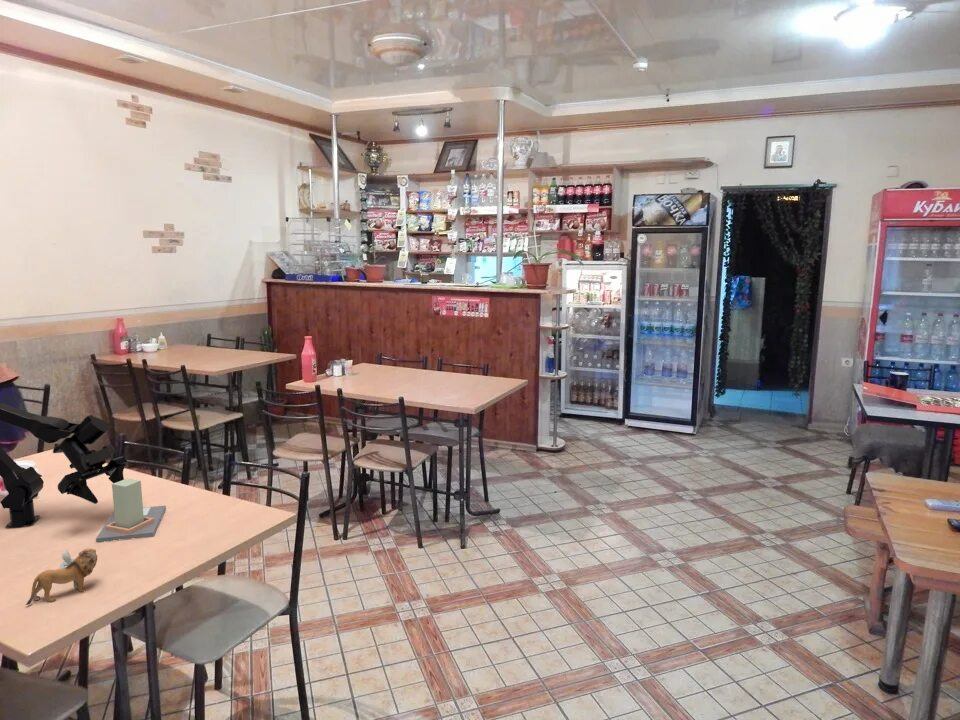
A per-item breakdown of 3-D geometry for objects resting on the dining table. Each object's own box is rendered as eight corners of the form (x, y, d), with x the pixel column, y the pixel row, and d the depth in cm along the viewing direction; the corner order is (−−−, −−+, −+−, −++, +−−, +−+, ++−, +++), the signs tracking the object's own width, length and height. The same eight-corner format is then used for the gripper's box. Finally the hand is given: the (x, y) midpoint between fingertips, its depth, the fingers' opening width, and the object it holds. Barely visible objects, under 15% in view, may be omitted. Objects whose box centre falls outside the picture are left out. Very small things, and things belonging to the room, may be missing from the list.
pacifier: (88, 564, 156) (59, 570, 153) (87, 541, 155) (58, 546, 152) (90, 576, 151) (60, 583, 147) (89, 552, 150) (59, 558, 146)
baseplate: (114, 514, 186) (114, 509, 186) (166, 509, 190) (165, 504, 190) (96, 542, 167) (95, 537, 167) (153, 536, 172) (153, 531, 171)
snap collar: (105, 529, 173) (104, 525, 172) (131, 517, 181) (130, 513, 180) (129, 534, 170) (128, 530, 170) (154, 522, 178) (154, 518, 178)
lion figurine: (95, 577, 150) (91, 543, 148) (103, 585, 146) (100, 549, 145) (22, 603, 138) (18, 565, 137) (30, 612, 135) (26, 573, 134)
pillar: (115, 528, 174) (111, 484, 172) (130, 521, 178) (127, 478, 176) (129, 530, 172) (125, 486, 170) (144, 523, 177) (140, 480, 175)
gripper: (61, 447, 166) (95, 492, 164) (121, 429, 183) (152, 470, 182) (42, 471, 170) (75, 515, 168) (103, 452, 187) (133, 491, 185)
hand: (111, 497), depth 176 cm, fingers open, 9 cm apart
